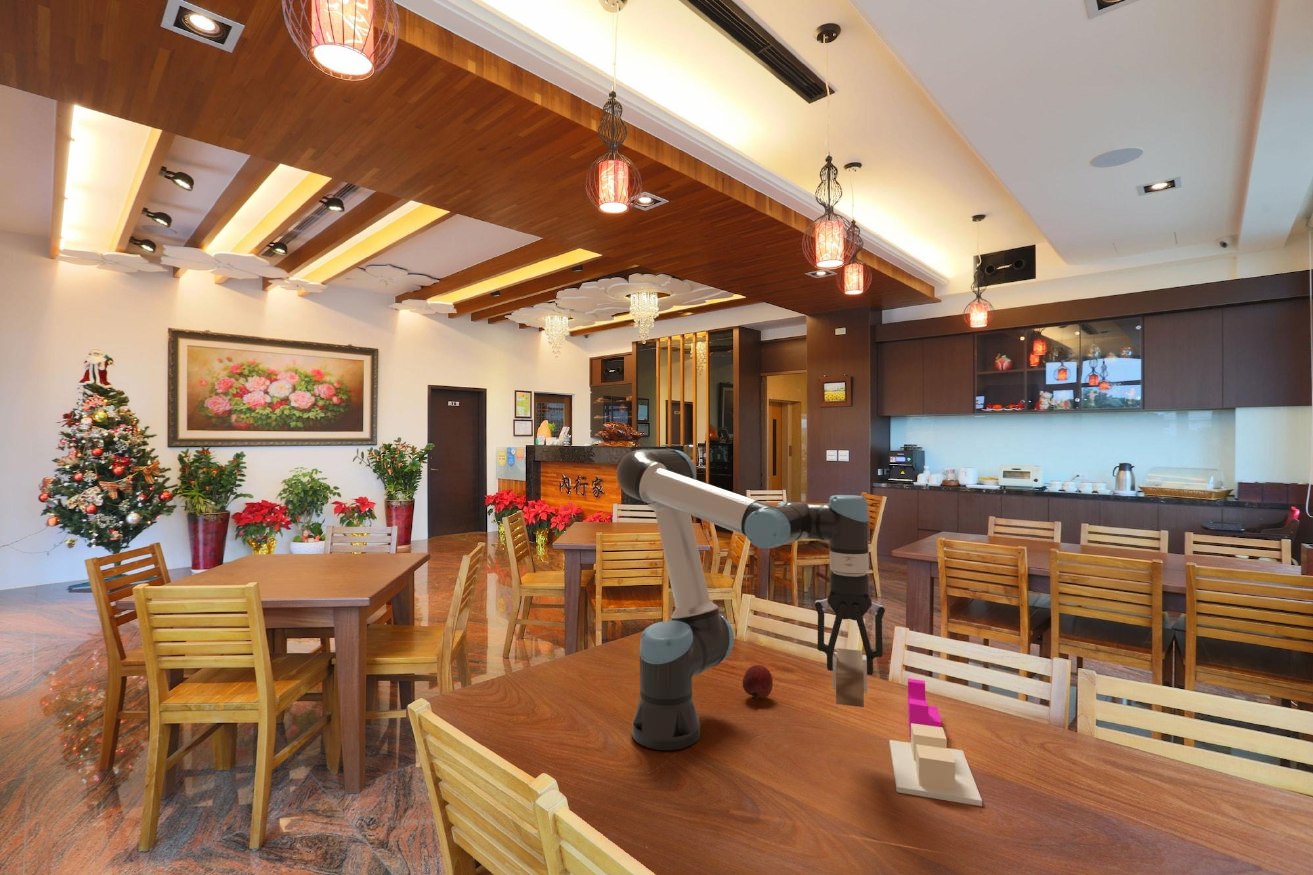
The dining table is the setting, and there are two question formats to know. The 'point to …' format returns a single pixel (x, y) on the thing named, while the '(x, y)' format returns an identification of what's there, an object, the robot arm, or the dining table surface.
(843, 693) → the lintel block
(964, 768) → the post board
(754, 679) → the apple
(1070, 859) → the dining table surface
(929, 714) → the toy block
